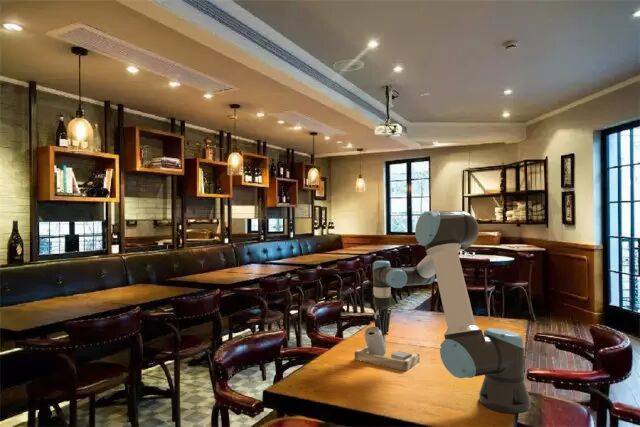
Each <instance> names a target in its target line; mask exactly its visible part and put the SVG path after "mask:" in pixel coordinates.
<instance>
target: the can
mask: <svg viewBox="0 0 640 427" xmlns="http://www.w3.org/2000/svg"><path fill="white" fill-rule="evenodd" d="M363 336H364V339H365V344H366V346H367V347H368V351H369V354H374V355H379V356H385V354H386V353H387V347H386V348H385V344H384V340H383V336H382V332H381V330H379V328H378V327H375V326H370V327H368V328H366V329H365V331H364V335H363Z"/></svg>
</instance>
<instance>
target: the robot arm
mask: <svg viewBox="0 0 640 427" xmlns="http://www.w3.org/2000/svg"><path fill="white" fill-rule="evenodd" d="M479 230H480V228H479V223H478V221H477V219H476V218H475V216H473V215H472V214H470V213H469V212H466V211H463V210H429V211H425V212H423V213H421V215H419V217H418V218H417V221H416V224H415V228H414V231H415V234H414V235H415V238H416V242H417V243H418V244H419V245H421V246H423V247H425V248H424V249H425V253H426V254H427V255H426V256H425V257H424V258H423V259H421V261H420V262H419V263H418V264H417V265H416V266H413V267H391V262H390V261H389V260H376V261H373V263H372V280H373V281H372V282H373V284H372V286H373V288H372V291H373V305H374V306H375V313H374V314H372V318H373V321H374V327H378V328H379V330H381V332H382V336H383V340H384V344H385V348H386V349H387V336H388V335H389V330H390V320H391V314H392V310H391V309H389V307H390V306H391V303H392V300H391V295H392V294H391V292H392V291H391V289H392V288H395V289H401V288H403V287H405V286H421V285H423V286H425V285H430V284H432V283H433V282H434V280H435V278H436V281H437V282H436V283H437V286H438V291H439V294H440V295H439V296H440V299H441V304H442V308H443V314H444V317H445V322H446V327H447V329H446V331H445V332H444V334H443V336H444V339H443V341H442V342H441V343H440V348H439V355H440V359H441V362H442V364H443V366H444V368H445V369H446V371H447V372H449V374H451V375H452V376H453V377H454V378H457V379H466V378H468V379H473V378H475V377H480V376H484V378H483V381H482V383H481V387H480V389H479V393H478V394H479V398H478V399H479V400H478V401H479V402H480V404H482V405H483V406H484V407H486V408H487V409H490V410H493V411H496V412H499V413H506V414H523V413H526V412H529V411H530V410H531V408H532V407H531V406H532V405H531V403H532V402H531V398H530V395H529V392H528V388H527V386H526V383H525V346H524V338H523V337H522V335H520V334H519V333H517V332H515V331H511V330H507V329H501V328H494V327H493V328H492V327H491V328H490V327H489V328H485V329H484V330H483V329H482V328H481V327H479V326H478V325H477V324H476V322H475V321H476V320H475V318H474V314H473V313H474V312H473V310H472V306H471V305H472V304H471V301H470V300H471V299H470V297H469V293H468V288H467V284H466V281H465V276H464V272H463V267H462V263H461V260H460V254H459V253H460V252H461V251H464V250H467V249H469V247H471V246H472V245H473V244H474V242H475V241H476V240H477V239H478V236H479V233H480V231H479Z"/></svg>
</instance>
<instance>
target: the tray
mask: <svg viewBox="0 0 640 427" xmlns="http://www.w3.org/2000/svg"><path fill="white" fill-rule="evenodd" d="M355 359H356V360H361V361H365V362H364V363H366V362H369V363H368V364H370V363H374V364H373V365H375V364H378V365H377V366H379V365H382V366H381V367H384V366H386V367H385V368H389V367H390V368H389V369H393V368H394V370H398V371H403V372H408V371H409V370H410V369H412V368H413V367H414V366H416V365H417V364H419V363H420V353H417V352H415V353H414V354H412V356H411V357H409V358H408V359H406V360H399V359H394V358H391V357H387V356H385V355H383V356H379V355H374V354H369V351H368V347H367V345H366V346H364V347H361V348H360V349H358V350H355V351H354V360H355ZM356 360H355V361H356ZM361 361H360V362H361Z"/></svg>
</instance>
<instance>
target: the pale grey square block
mask: <svg viewBox="0 0 640 427" xmlns="http://www.w3.org/2000/svg"><path fill="white" fill-rule="evenodd" d="M412 355H413V354H412V353H409V352H406V351H401V350H399V351H395V352H393V353H391V355H390V356H391V357H390V358H394V359H399V360H406V359H408V358H409V357H411V356H412Z"/></svg>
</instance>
